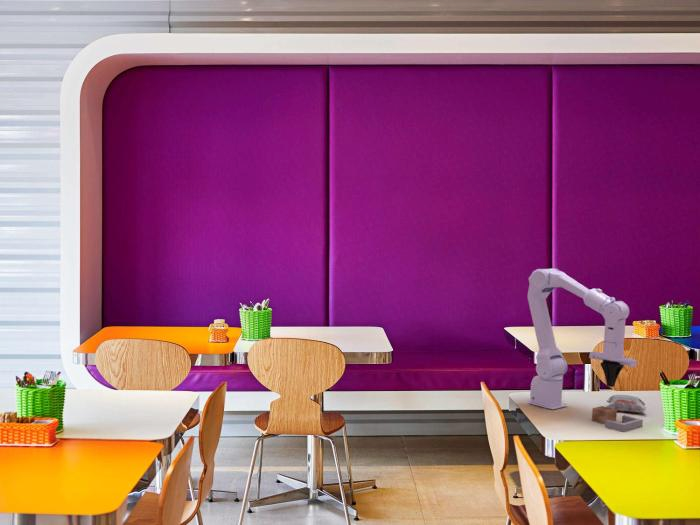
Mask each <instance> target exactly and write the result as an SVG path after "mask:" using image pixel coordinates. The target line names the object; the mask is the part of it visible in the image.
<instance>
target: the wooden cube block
mask: <svg viewBox="0 0 700 525" xmlns="http://www.w3.org/2000/svg"><path fill="white" fill-rule="evenodd" d="M591 413H592V414H591V422H595V423H598V424H602V425H605V420H611V421H615V422H617V415H618V414H617V413H618V411H617V410H616V409H612V408H610V407H609V406H608V407H606V406H605V405H604V406H603V405H601V406H597V407H596V406H595V407H593V408H592V411H591Z"/></svg>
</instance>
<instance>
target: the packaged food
mask: <svg viewBox="0 0 700 525" xmlns="http://www.w3.org/2000/svg"><path fill="white" fill-rule="evenodd" d="M606 403H608V404H606V405H605V407H608V408H612V409H616V410H617V412H621V413H622V412H623V413H629V414H630V413H632V414H633V413H635V414H636V413H641V412H644V411H647V407H646V403H645V402H644V401H643V400H641V398H639V397H638V396H633V395H629V394H614V395H612V396H610V397H609V398H608V399H607V400H606Z"/></svg>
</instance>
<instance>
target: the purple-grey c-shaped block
mask: <svg viewBox="0 0 700 525" xmlns="http://www.w3.org/2000/svg"><path fill="white" fill-rule="evenodd" d="M643 422H644V420H643V419H641V418H637V417H633V416H630V415H626V414H624V415H621V422H618V421H616V422H615V421H611V420H605V424H604V428H608V429H610V430H614V429H615V431H618V432H623V433H624V432H628V431H631V430H634V429H638V428H641V427H643Z"/></svg>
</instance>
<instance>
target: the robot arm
mask: <svg viewBox="0 0 700 525" xmlns="http://www.w3.org/2000/svg"><path fill="white" fill-rule="evenodd" d="M528 282H529V286H528V291H527V302H528V306H529V310H530V315H531V319H532V324H533V328H534V331H535V336H536V342H537V346H538V352H537V354H536V356H535V359H536V365H535V371H536V373H537V375H536V376H535V375H534V376H533V378H532V380H531V383H530V395H529V398H530V399H529V401H528V404H530V405H535V406H537V407H540V408H541V407H542V408H545V409H549V410H557V409H561V408H565V407H568V406H567V404H565V403H562V397H563V382H564V374H565V375H566V373H567V371H568V364H567V363H568V362H567V361H566V359H565V358H564V356H563V353H562V351H561V349H559V348H558V346H557V343H556V339H555V334H554V331H553V327H552V321H551V317H550V313H549V308H548V304H547V300H546V299H547V298H548V296H549V295H550V294H551V292H553V291H554V290H556V289H557V288H562V289H565V290H566V291H569V292H570V293H572V294H574V295H576V296H577V297H579V298H582V299H583V303H584V304H585V306H587V307H589V308H591V309H592V310H594V311H596V312H597V313H599V314H601V315H602V317H603V319H604V336H603V346H602V347H603V348H602V349H603V350H602V351H603V352H597V351H590V352H589V357H588V358H589V359H591V360H593V359H594V360H598V361H602V362H600V367H601V369H602V371H603V374H604V378H605V382H606V387H609V388H612V387H613V388H614V387H615V385H616V382H617V379H618V377H619V375H620V373H621V371H622V370H623V368H624V366H628V367H630V368H636V367H637V363H638V362H637V361H638V360H637V359H633V358H630V357H626V356H624V347H625V346H624V344H625V331H626V319H627V318H628V317H629V315H630V308H629V306H628V304H626V303H625V302H624V301H622V300H616V298H615V297H614V296H612V297H611V296H608V295H607V294H605V293H604V292H603V290H602V289H600V288H592V289H589V288H588V287H586V286H585V285H583V284H581V283H579V282H578V281H577V280H576V279H574V278H572V277H570V276H569V275H567V274H566V273H565V272H564V271H561V270H560V269H558V268H555V267H554V268H537V269H535V270H533V271H532V273H531V275H530V276H529V277H528Z"/></svg>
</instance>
